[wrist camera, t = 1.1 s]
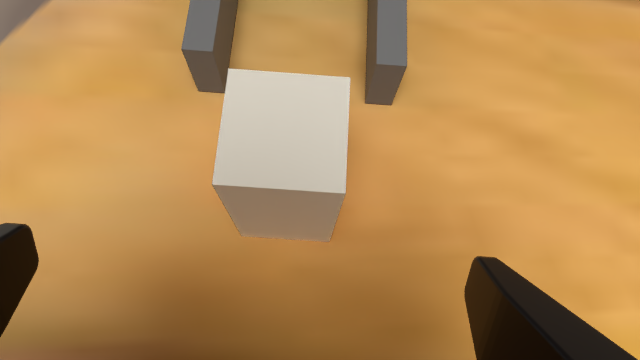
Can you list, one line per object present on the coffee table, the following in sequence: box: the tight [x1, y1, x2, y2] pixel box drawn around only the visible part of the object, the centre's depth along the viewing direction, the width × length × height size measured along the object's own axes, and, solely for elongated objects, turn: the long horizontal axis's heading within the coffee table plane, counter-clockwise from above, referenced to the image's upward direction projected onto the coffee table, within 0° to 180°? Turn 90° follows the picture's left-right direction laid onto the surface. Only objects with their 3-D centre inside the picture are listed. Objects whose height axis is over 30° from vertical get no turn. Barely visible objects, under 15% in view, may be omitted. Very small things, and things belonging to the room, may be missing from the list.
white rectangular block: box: [212, 68, 350, 242], centre depth 20 cm, size 4×4×8 cm
